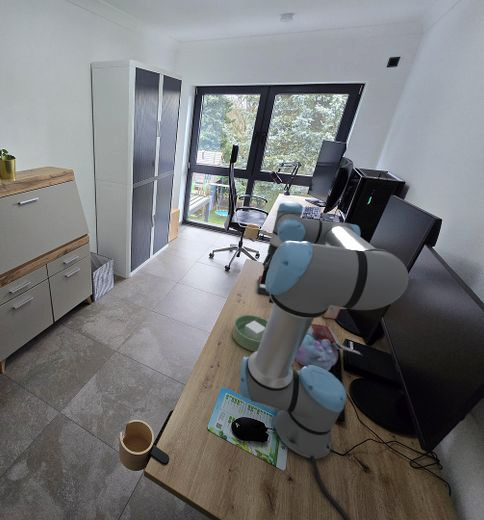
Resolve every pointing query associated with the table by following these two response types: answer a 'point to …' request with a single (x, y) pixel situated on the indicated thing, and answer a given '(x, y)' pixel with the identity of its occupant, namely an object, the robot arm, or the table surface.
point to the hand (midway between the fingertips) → (268, 292)
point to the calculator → (262, 287)
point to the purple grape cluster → (320, 348)
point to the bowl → (239, 331)
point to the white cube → (254, 331)
